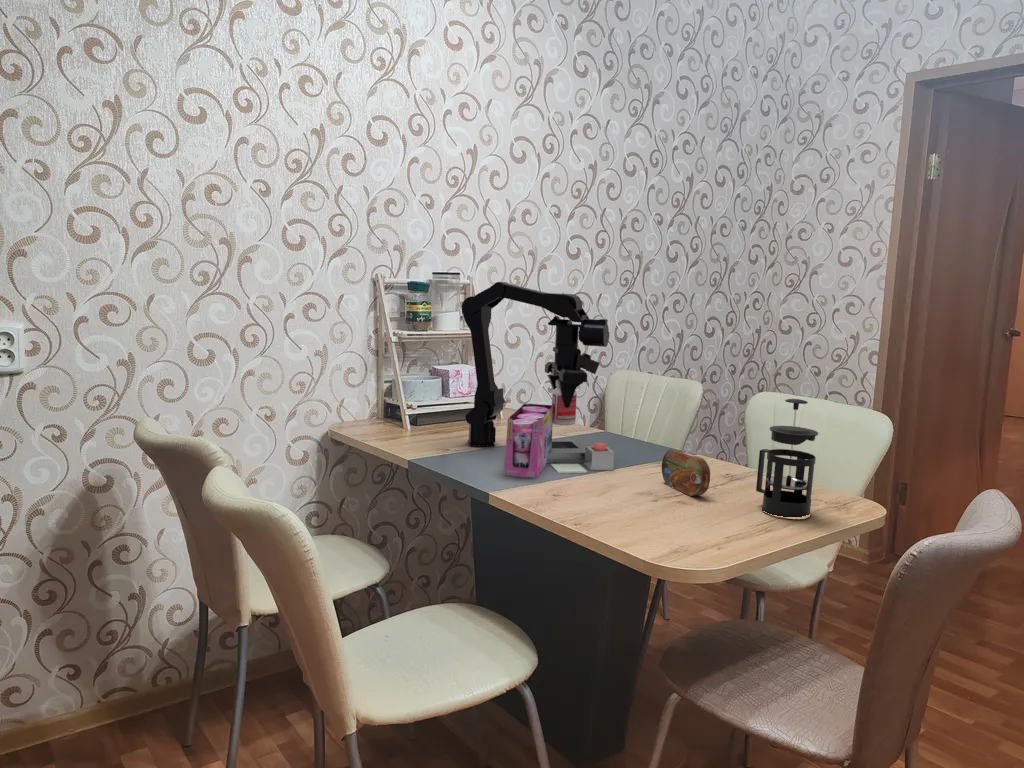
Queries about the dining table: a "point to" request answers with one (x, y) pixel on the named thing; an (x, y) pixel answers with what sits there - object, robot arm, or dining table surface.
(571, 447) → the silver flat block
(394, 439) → the dining table surface
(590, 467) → the housing
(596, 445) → the button
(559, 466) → the pad
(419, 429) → the dining table surface
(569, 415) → the pill bottle
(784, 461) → the french press
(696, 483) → the tin
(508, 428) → the gum box
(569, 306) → the robot arm
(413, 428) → the dining table surface
